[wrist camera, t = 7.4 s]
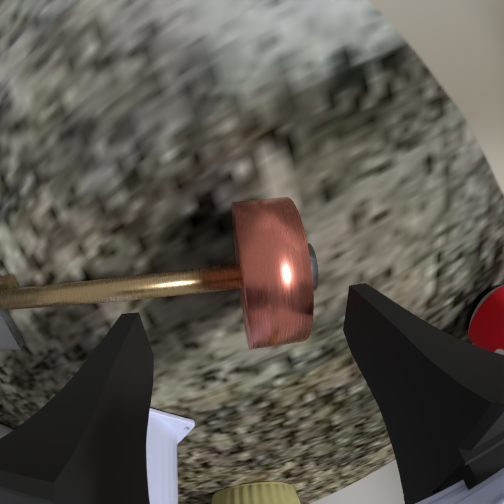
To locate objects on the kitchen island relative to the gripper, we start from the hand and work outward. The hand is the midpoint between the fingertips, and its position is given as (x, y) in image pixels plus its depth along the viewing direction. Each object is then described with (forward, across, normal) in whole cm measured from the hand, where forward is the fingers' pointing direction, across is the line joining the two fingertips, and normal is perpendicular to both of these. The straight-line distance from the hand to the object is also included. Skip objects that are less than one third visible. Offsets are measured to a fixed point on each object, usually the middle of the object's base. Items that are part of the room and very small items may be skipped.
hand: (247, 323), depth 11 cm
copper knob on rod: (+6, +6, 0) cm, 9 cm away
